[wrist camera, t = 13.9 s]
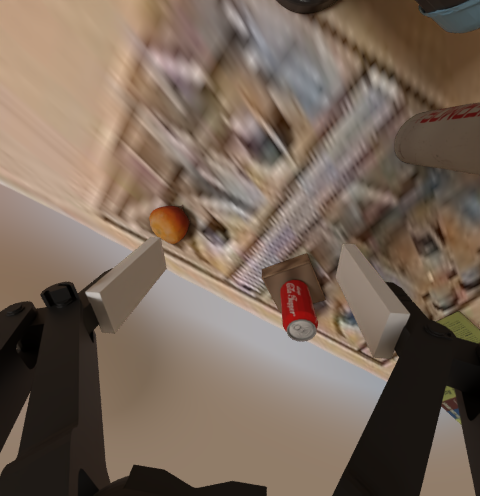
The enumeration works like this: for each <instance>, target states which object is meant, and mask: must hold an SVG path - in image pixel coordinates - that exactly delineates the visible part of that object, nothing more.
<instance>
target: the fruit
mask: <svg viewBox="0 0 480 496" xmlns="http://www.w3.org/2000/svg"><path fill="white" fill-rule="evenodd" d="M182 206H183V205H182ZM182 206H181V207H180V208H179V207H175V206H165V207H160V208H157V209H155V210H154V211H153V212H152V213H151V215H150V225H151V227H152V230H153V232H154V233H155V234H156V235H157V236H158V237H160V238H161V239H163V240H165V241H166V242H168V243H171V244H175V243H177V242H178V241H180V240H181V239H182V238H183V237H184V236H185V234H186V233H187V231H188V228H189V224H190V220H189V219H188V217H187V216H186V214H185V213H184V211H183V209H182Z"/></svg>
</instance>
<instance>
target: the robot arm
mask: <svg viewBox="0 0 480 496" xmlns="http://www.w3.org/2000/svg"><path fill="white" fill-rule="evenodd" d="M277 1H278V2H279V3H280V4H281V5H283V6H284V7H286V8H287V9H289V10H292V11H294V12H299V13H312V12H317V11H320V10H322V9H325V8H327V7H328V6H330V5H332V4H333V3H335V2H336V1H337V0H277ZM415 1H416V2H417V3H418V4H419V11H420V12H421V13H422V15H424V16H427V17H431V18H432V19H433V20H434V21H435V22H436V23H437V24H438V25H439V26H440V27H442V28H443V29H444V30H445V31H447V32H451V33H452V32H453V33H466V32H470V31H473V30H476V29H479V28H480V0H415ZM166 269H167V268H166V263H165V258H164V253H163V248H162V243H161V238H160V237H150V238H149V239H148V240H147V241H145V242H144V243H143V244H142V245H141V246H139V247H138V248H137V249H136V250H135V251H133V252H132V253H131V254H130V255H129V256H127V257H126V258H125V259H124V260H123V261H121V262H120V263H119V264H118V265H117V266H115V267H114V268H112V269H110V270H108V271H106V272H104V273H103V274H101V275H100V276H99V277H98V278H97V279H95V280H94V281H93V282H91V283H90V284H89V285H88V286H87V287H85V288H84V289H83V290H82V291H80V292H79V293H77V291H76V289H75V287H74V284H73V283H71V282H62V283H58V284H55V285H52V286H50V287H48V288H46V289H45V290H44V291H42V293H41V297H42V299H43V301H44V303H45V305H46V306H47V307H45V308H39V309H36V308H35V307H34V305H33V303H32V302H28V301H27V302H20V303H15V304H13V305H10V306H9V307H7V308H5V309H4V310H2V311H1V312H0V452H1V450H2V448H3V446H4V444H5V442H6V440H7V438H8V436H9V434H10V432H11V429H12V428H13V425H14V424H15V421H16V419H17V418H18V416H19V413H20V411H21V409H22V407H23V405H24V403H25V401H26V399H27V397H28V395H29V393H30V398H29V403H28V408H27V412H26V418H25V422H24V427H23V432H22V437H21V442H20V447H19V453H18V455H17V458H16V460H15V461H13V462H11V463H9V464H7V465H6V467H5V468H4V469H3V471H2V473H1V476H0V496H267V493H266V492H267V487H265V486H259V485H253V484H247V483H241V482H235V481H230V482H225V483H220V484H215V485H210V486H205V487H200V488H194V487H191V486H190V485H188V484H186V483H185V482H183V481H182V480H180V479H179V478H177V477H175V476H174V475H172V474H170V473H169V472H167V471H165V470H163V469H157V468H151V467H145V466H139V465H133V468H132V470H131V472H130V475H129V476H127V477H124V478H121V479H118V480H116V481H114V482H112V483H110V479H109V476H108V473H107V468H106V462H105V449H104V436H103V423H102V410H101V396H100V384H99V370H98V358H97V344H96V334H95V332H94V329H95V328H96V327H97V326H98V325H99V326H100V328H101V331H102V332H104V333H114V334H115V333H116V332H117V331H118V329H119V328H120V327H121V326H122V324H123V323H124V322H125V320H126V319H127V318H128V317H129V315H130V314H131V313H132V312H133V310H134V309H135V308H136V307H137V305H138V304H139V303H140V301H141V300H142V299H143V298H144V296H145V295H146V294H147V292H148V291H149V290H150V289H151V288H152V286H153V285H154V284H155V283H156V281H157V280H158V279H159V277H160V276H161V275H162V274H163V272H164V271H165V270H166ZM336 279H337V281H338V283H339V285H340V287H341V290H342V292H343V294H344V296H345V298H346V300H347V302H348V304H349V307H350V309H351V311H352V313H353V315H354V317H355V319H356V322H357V324H358V326H359V328H360V330H361V332H362V334H363V337H364V339H365V341H366V343H367V345H368V347H369V349H370V351H371V354H372V356H373V357H375V358H386V359H391V357H392V355H393V353H394V350H395V351H396V353H397V355H398V356H399V359H398V361H397V363H396V365H395V367H394V369H393V371H392V373H391V375H390V378H389V380H388V382H387V384H386V386H385V388H384V390H383V392H382V394H381V396H380V398H379V400H378V403H377V405H376V407H375V409H374V411H373V413H372V415H371V417H370V419H369V421H368V423H367V425H366V427H365V430H364V431H363V434H362V436H361V438H360V440H359V442H358V444H357V446H356V448H355V450H354V452H353V454H352V456H351V458H350V461H349V463H348V465H347V467H346V469H345V470H344V472H343V474H342V477H341V479H340V481H339V483H338V485H337V487H336V489H335V491H334V493H333V495H332V496H419V495H420V491H421V487H422V483H423V479H424V475H425V471H426V466H427V462H428V458H429V454H430V450H431V446H432V442H433V438H434V433H435V429H436V425H437V421H438V417H439V413H440V409H441V405H442V401H443V397H444V392H445V388H446V386H448V387H451V388H454V390H455V395H456V400H457V404H458V409H459V414H460V419H461V424H462V429H463V434H464V439H465V444H466V449H467V454H468V459H469V464H470V469H471V474H472V478H473V483H474V488H475V494H476V496H480V343H475V342H471V341H468V340H464V339H461V338H457V337H456V336H455V334H454V333H453V332H452V331H451V330H450V329H448V328H447V327H446V326H444V325H442V324H440V323H438V322H435V321H432V320H429V319H428V318H427V317H426V316H425V315H424V314H423V312H422V311H421V310H420V309H419V308H418V307H417V306H416V304H415V303H414V302H412V300H411V299H410V297H409V296H407V294H406V293H405V292H404V291H403V289H402V288H400V287H399V286H397V285H396V284H394V283H392V282H385V281H384V280H383V279H382V278H381V276H380V275H379V274H378V273H377V271H376V270H375V269H374V268H373V266H372V265H371V264H370V263H369V261H368V260H367V259H366V258H365V256H364V255H363V254H362V252H361V251H360V250H359V249H358V247H357V246H356V245H355V244H343V246H342V250H341V255H340V260H339V264H338V269H337V274H336ZM16 348H17V350H16ZM30 391H31V392H30Z"/></svg>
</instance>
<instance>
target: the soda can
mask: <svg viewBox="0 0 480 496" xmlns="http://www.w3.org/2000/svg"><path fill="white" fill-rule="evenodd" d="M280 295H281V307H282V319H283V327H284V329H285V331H286V332H287V334H288V336H289V337H290V338H292V339H293V340H296V341H308V340H310V339H312V338H313V337H314V336H315V335H316V329H317V326H318V321H317V317H316V313H315V310H314V306H313V303H312V299H311V295H310V292H309V289H308V286H307V285H306V284H305V283H304V282H302V281H299V280H291V281H288V282H286V283H285V284H283V286H282V287H281V290H280Z"/></svg>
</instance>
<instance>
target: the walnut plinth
mask: <svg viewBox="0 0 480 496" xmlns="http://www.w3.org/2000/svg"><path fill="white" fill-rule="evenodd" d="M262 279H263V281H264V283H265V285H266V287H267V289H268V290H269V292H270V294H271V296H272V298H273V300H274V302H275V304H276V306H277V308H278V309H279V311H280V313H282V307H281V295H280V290H281V287H282V286H283V284H285V283H286V282H288V281H291V280H299V281H302V282H304V283H305V284H306V285H307V286H308V289H309V292H310V295H311V299H312V303H317V302H320V301H324V300H326V299H325V297H324V294H323V291H322V289H321V286H320V284H319V281H318V279H317V276H316V274H315V272H314V269H313V267H312V264H311V262H310V260H309V257H308V255H307V253H306V254H303V255H300V256H298V257H295V258H292V259H289V260H287V261H284V262H281V263H278V264H275V265H273V266H270V267H267V268H264V269H262Z"/></svg>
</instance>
